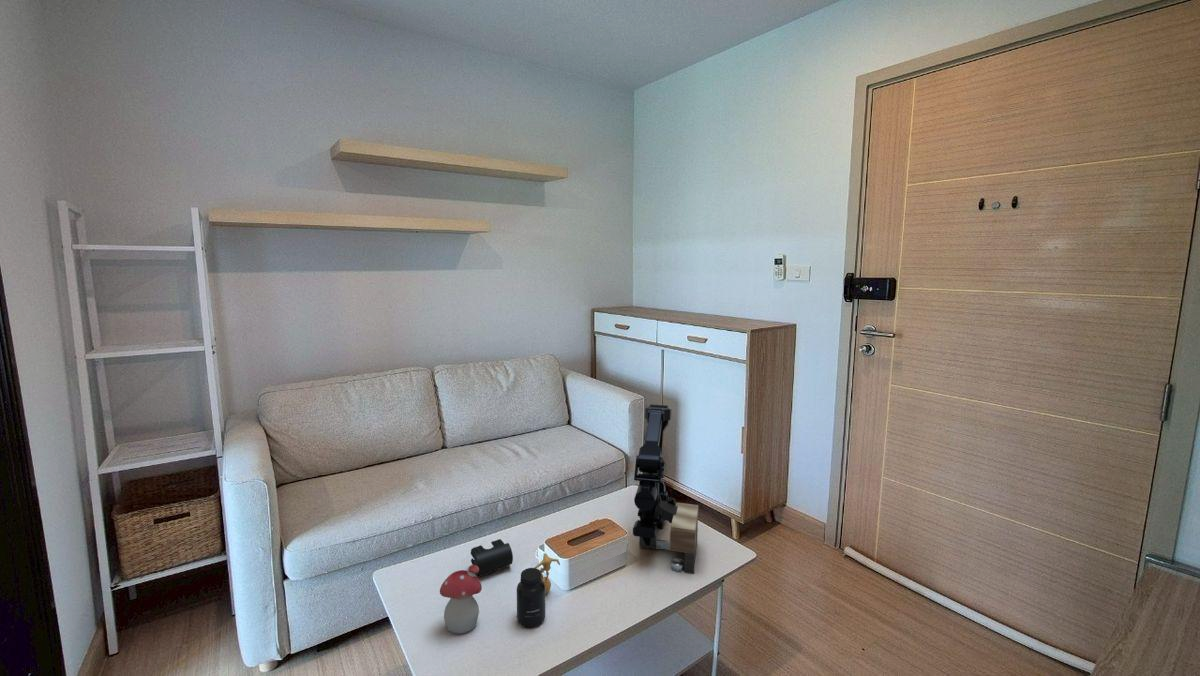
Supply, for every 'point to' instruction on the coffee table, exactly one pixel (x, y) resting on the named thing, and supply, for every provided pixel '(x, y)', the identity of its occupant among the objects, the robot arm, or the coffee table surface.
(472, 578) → the decorative ornament
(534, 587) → the supplement bottle
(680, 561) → the grey metal dome
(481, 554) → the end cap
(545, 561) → the figurine
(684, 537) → the bronze curved block
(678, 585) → the coffee table surface
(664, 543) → the blade tool
